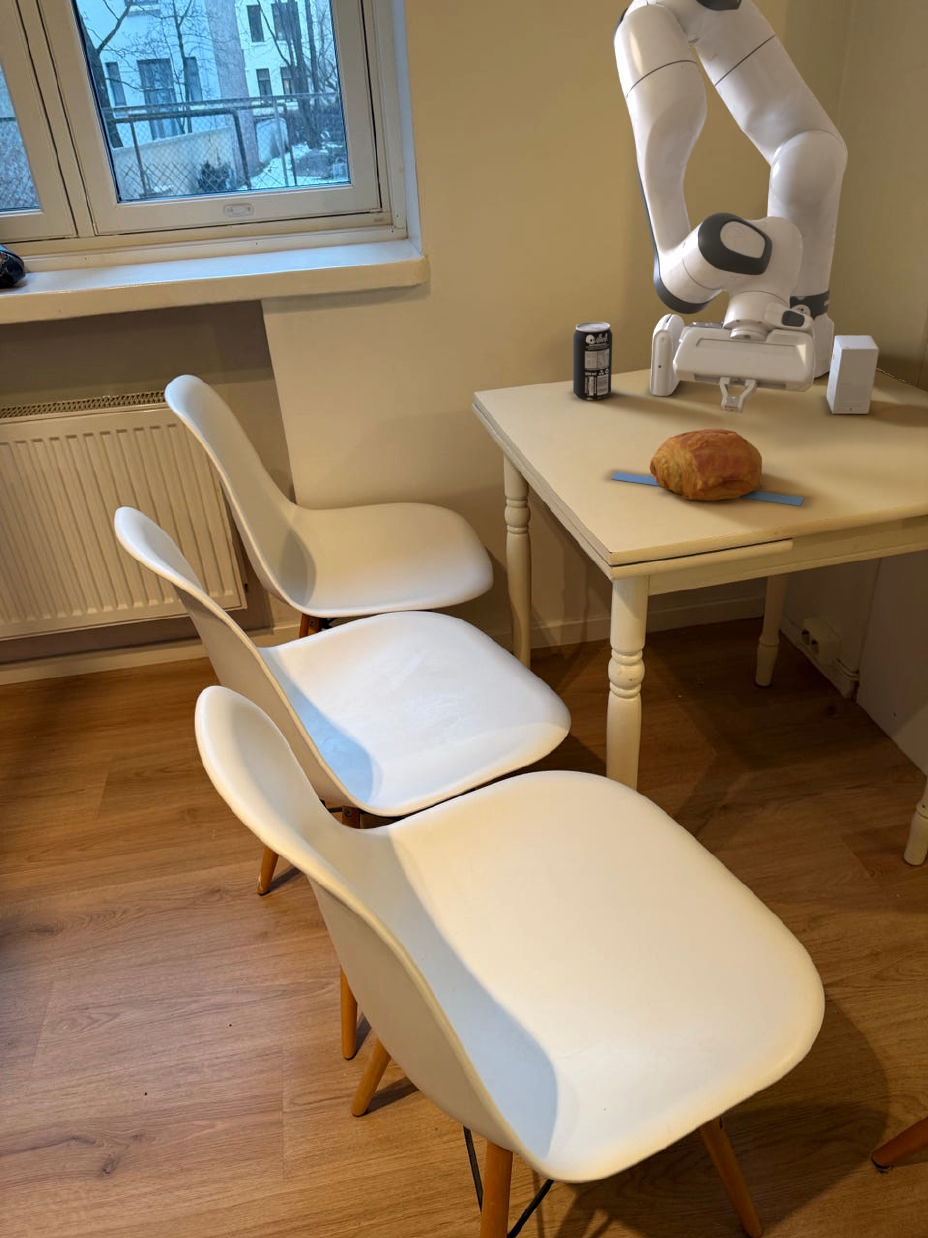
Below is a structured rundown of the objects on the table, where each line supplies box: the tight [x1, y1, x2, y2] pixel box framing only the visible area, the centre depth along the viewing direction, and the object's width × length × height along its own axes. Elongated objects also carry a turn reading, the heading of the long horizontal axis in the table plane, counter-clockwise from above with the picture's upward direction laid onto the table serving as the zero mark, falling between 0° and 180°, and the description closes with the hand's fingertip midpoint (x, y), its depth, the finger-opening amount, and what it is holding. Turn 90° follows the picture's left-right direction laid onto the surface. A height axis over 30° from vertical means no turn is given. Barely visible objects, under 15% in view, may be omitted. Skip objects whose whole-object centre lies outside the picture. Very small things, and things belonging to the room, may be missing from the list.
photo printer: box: [649, 313, 685, 397], centre depth 163 cm, size 10×4×12 cm, turn 158°
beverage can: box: [572, 321, 613, 401], centre depth 162 cm, size 7×7×12 cm
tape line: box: [611, 472, 805, 507], centre depth 129 cm, size 2×26×1 cm, turn 63°
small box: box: [825, 334, 880, 415], centre depth 150 cm, size 8×6×10 cm
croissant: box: [649, 428, 763, 502], centre depth 129 cm, size 14×16×8 cm
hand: (731, 410), depth 137 cm, fingers closed
